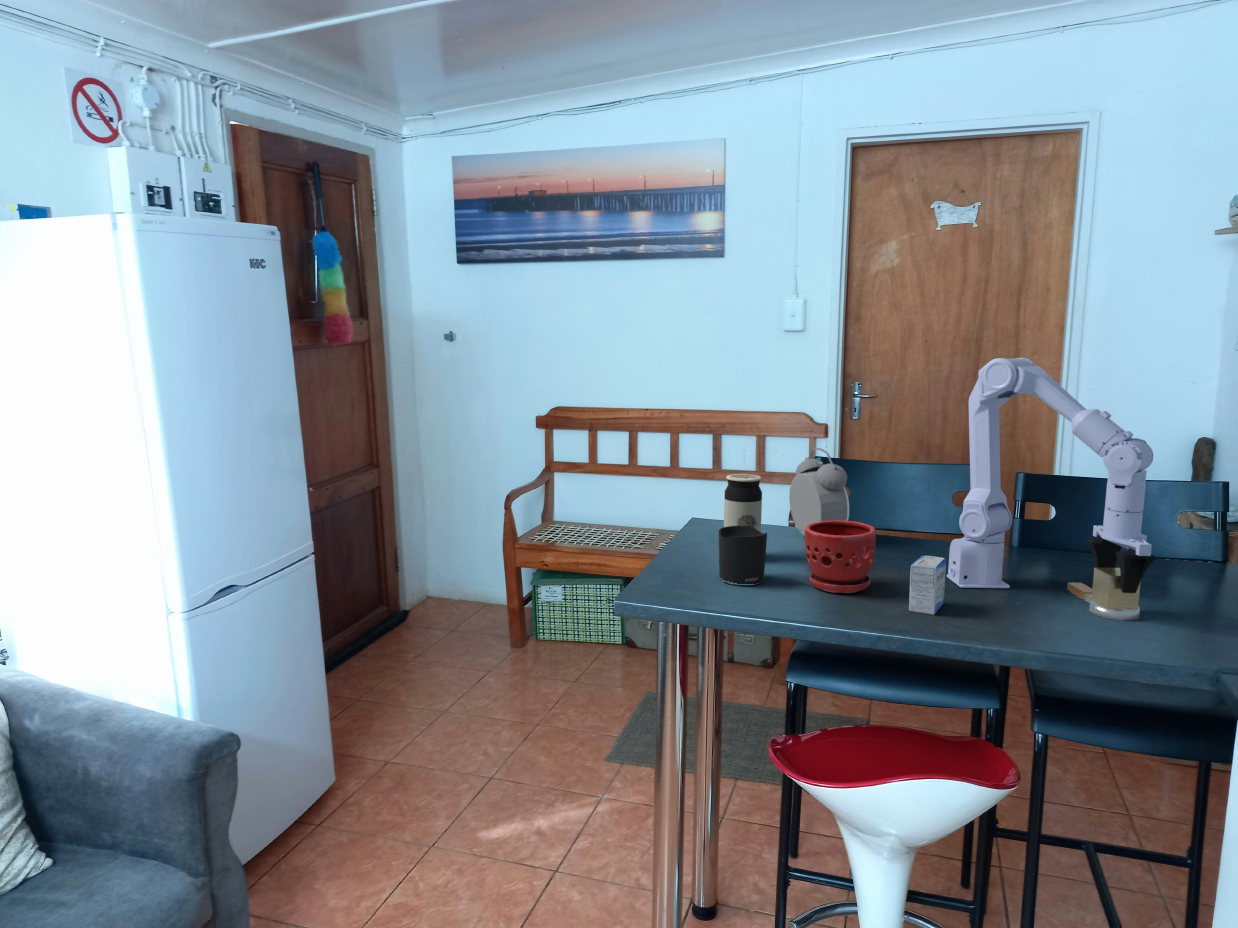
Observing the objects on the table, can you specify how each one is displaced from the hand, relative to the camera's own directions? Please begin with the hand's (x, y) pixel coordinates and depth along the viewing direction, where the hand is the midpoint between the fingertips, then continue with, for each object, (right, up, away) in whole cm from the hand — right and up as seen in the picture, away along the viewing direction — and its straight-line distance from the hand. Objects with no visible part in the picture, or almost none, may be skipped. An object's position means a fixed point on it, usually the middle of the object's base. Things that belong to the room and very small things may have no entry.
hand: (1116, 585), depth 149 cm
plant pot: (-45, -3, +16) cm, 47 cm away
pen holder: (-63, -2, +20) cm, 66 cm away
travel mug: (-60, +1, +37) cm, 71 cm away
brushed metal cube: (0, -3, 0) cm, 3 cm away
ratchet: (0, -4, +6) cm, 7 cm away
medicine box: (-32, -5, +3) cm, 32 cm away
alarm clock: (-40, +3, +54) cm, 67 cm away
